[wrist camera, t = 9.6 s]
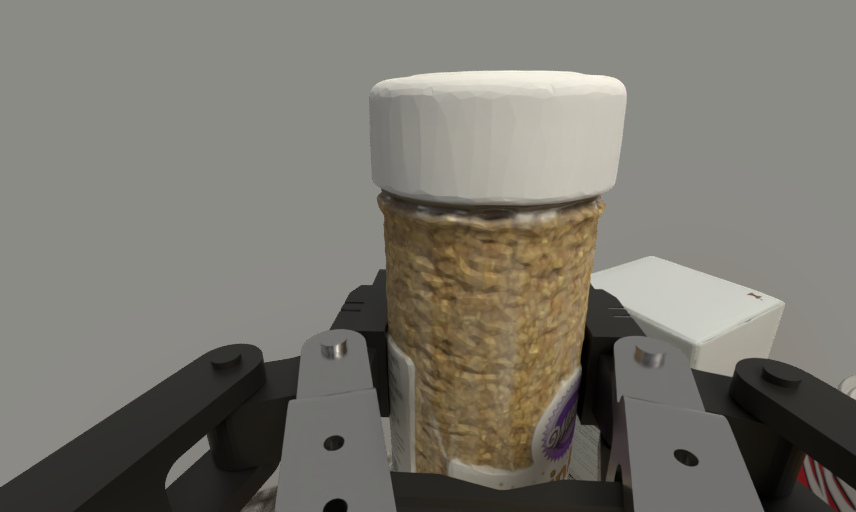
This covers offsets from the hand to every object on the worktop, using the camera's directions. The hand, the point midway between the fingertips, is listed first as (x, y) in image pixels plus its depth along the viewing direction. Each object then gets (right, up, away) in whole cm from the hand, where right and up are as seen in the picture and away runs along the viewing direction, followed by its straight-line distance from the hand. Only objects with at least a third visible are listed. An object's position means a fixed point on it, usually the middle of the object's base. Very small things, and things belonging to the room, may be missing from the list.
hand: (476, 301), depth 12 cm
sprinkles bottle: (0, -8, 0) cm, 8 cm away
